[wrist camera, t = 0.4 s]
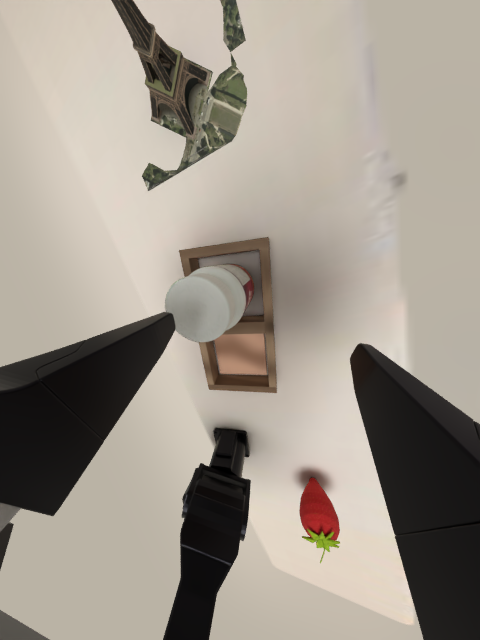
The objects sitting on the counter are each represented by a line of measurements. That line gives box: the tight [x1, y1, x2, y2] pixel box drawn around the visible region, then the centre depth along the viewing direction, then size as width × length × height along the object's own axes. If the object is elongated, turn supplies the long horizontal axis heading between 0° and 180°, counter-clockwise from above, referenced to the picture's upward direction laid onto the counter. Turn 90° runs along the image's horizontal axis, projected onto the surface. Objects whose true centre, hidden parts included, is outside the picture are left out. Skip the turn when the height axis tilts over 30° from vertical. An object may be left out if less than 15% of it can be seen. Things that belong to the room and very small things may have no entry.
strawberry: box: [300, 478, 340, 563], centre depth 28 cm, size 6×8×10 cm
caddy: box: [179, 237, 277, 393], centre depth 23 cm, size 20×10×2 cm, turn 7°
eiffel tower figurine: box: [112, 0, 247, 191], centre depth 12 cm, size 15×10×13 cm
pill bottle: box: [165, 264, 254, 342], centre depth 18 cm, size 6×6×11 cm
